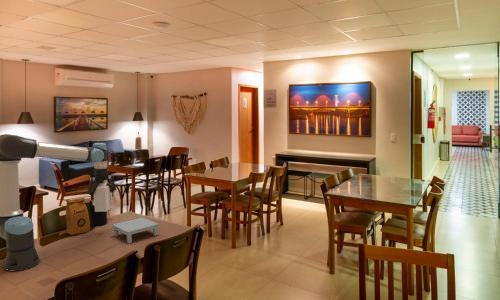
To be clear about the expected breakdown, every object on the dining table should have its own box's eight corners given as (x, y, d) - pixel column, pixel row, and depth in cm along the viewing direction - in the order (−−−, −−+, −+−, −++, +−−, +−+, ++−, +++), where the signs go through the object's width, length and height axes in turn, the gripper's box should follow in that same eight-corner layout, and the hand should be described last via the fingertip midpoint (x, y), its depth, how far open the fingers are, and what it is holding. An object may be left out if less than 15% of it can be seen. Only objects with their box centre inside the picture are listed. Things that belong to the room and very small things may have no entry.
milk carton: (106, 211, 223) (104, 181, 221) (94, 211, 223) (93, 181, 221) (110, 208, 230) (109, 179, 228) (99, 208, 230) (98, 179, 228)
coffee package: (92, 231, 231) (89, 197, 228) (71, 237, 222) (68, 201, 219) (85, 228, 238) (83, 195, 235) (65, 233, 229) (63, 199, 226)
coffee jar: (110, 221, 251) (108, 196, 249) (102, 226, 241) (100, 200, 239) (95, 221, 252) (93, 196, 250) (87, 226, 242) (85, 199, 240)
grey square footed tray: (128, 243, 209) (127, 232, 208) (112, 235, 223) (112, 224, 222) (159, 235, 223) (158, 224, 222) (142, 228, 237) (142, 217, 236)
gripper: (84, 170, 213) (86, 208, 215) (121, 166, 229) (122, 201, 231) (79, 169, 219) (81, 205, 221) (115, 165, 234) (117, 199, 237)
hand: (102, 203), depth 226 cm, fingers closed on milk carton, 10 cm apart
